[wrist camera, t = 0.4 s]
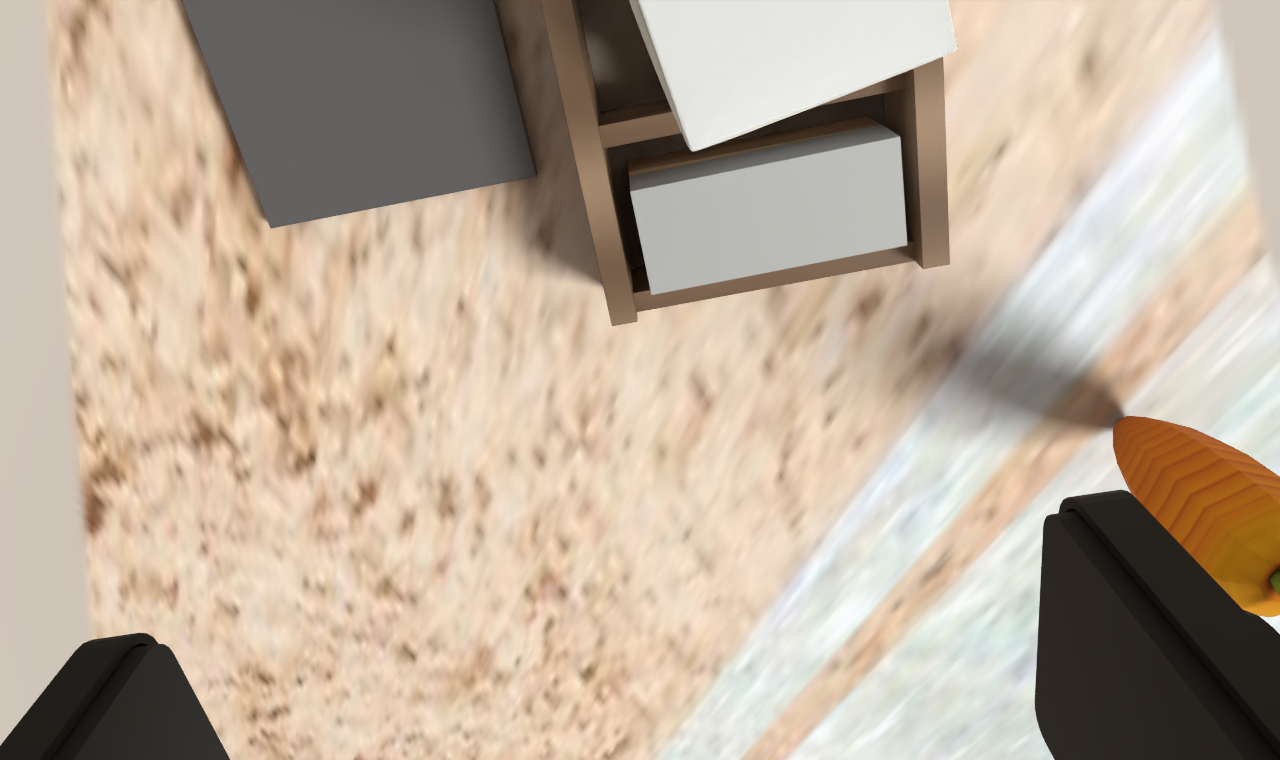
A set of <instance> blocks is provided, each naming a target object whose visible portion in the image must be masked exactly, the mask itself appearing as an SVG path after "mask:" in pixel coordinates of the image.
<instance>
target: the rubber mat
mask: <svg viewBox="0 0 1280 760" xmlns="http://www.w3.org/2000/svg"><path fill="white" fill-rule="evenodd" d="M182 2H183V5H184V7H185V10H186V12H187V15H188V17H189V20H190V23H191V25H192V28H193V30H194V33H195V35H196V38H197V41H198V43H199V46H200V48H201V51H202V53H203V56H204V58H205V61H206V64H207V66H208V69H209V71H210V74H211V76H212V79H213V82H214V84H215V87H216V89H217V92H218V94H219V97H220V100H221V102H222V105H223V107H224V110H225V112H226V115H227V118H228V120H229V123H230V125H231V128H232V130H233V133H234V136H235V138H236V141H237V143H238V146H239V148H240V151H241V154H242V156H243V159H244V161H245V164H246V166H247V169H248V172H249V174H250V177H251V179H252V182H253V184H254V187H255V190H256V192H257V195H258V197H259V200H260V202H261V205H262V208H263V210H264V213H265V215H266V218H267V220H268V223H269V226H270V228H275V227H280V226H286V225H291V224H296V223H301V222H306V221H311V220H316V219H321V218H326V217H331V216H336V215H342V214H347V213H352V212H357V211H362V210H367V209H372V208H377V207H382V206H387V205H392V204H398V203H403V202H408V201H413V200H418V199H423V198H428V197H433V196H438V195H443V194H449V193H454V192H459V191H464V190H469V189H474V188H479V187H484V186H489V185H494V184H499V183H505V182H510V181H515V180H520V179H525V178H530V177H535V176H536V174H537V171H536V167H535V163H534V159H533V155H532V151H531V146H530V142H529V138H528V134H527V130H526V126H525V122H524V118H523V113H522V109H521V105H520V101H519V97H518V93H517V89H516V85H515V80H514V76H513V72H512V68H511V64H510V60H509V56H508V51H507V47H506V43H505V39H504V35H503V31H502V27H501V23H500V18H499V14H498V10H497V6H496V2H495V0H182Z"/></svg>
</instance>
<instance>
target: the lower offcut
mask: <svg viewBox="0 0 1280 760" xmlns="http://www.w3.org/2000/svg"><path fill="white" fill-rule="evenodd" d="M877 125H881V124H879V123H878V122H876V121H875V120H873V119H872V118H870V117H868V116H864V117H859V118H853V119H848V120H843V121H837V122H832V123H827V124H821V125H816V126H811V127H806V128H800V129H795V130H790V131H784V132H779V133H774V134H769V135H763V136H758V137H753V138H747V139H742V140H737V141H732V142H726V143H721V144H716V145H712V146H709V147H707V148H703V149H700V150H697V151H691V150H690V149H689V150H684V151H679V152H673V153H668V154H663V155H657V156H652V157H647V158H642V159H636V160H631V161H628V169H629V177H630V176H633V175H638V174H643V173H648V172H652V171H657V170H662V169H667V168H672V167H677V166H682V165H687V164H691V163H696V162H701V161H706V160H711V159H716V158H721V157H726V156H730V155H735V154H740V153H745V152H750V151H755V150H760V149H765V148H769V147H774V146H779V145H784V144H789V143H794V142H799V141H804V140H808V139H813V138H818V137H823V136H828V135H833V134H838V133H842V132H847V131H852V130H857V129H862V128H867V127H872V126H877Z"/></svg>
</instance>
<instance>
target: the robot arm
mask: <svg viewBox="0 0 1280 760" xmlns="http://www.w3.org/2000/svg"><path fill="white" fill-rule="evenodd" d="M1035 711H1036V717H1037V721H1038V725H1039V728H1040V731H1041V734H1042V736H1043V738H1044V740H1045V742H1046V744H1047V746H1048V748H1049V750H1050V752H1051V754H1052V755H1053V757H1054V759H1055V760H1280V634H1279V633H1278V632H1277V631H1276V630H1275V629H1274V628H1273V627H1272V626H1270V625H1269V624H1268V623H1267V622H1266V621H1264V620H1263V619H1262V618H1261V617H1259V616H1258V615H1256V614H1253V613H1251V612H1248V611H1246V610H1243V609H1242V608H1241V607H1240V606H1239V605H1238V604H1237V603H1236V602H1235V601H1234V600H1233V599H1232V598H1231V597H1230V596H1229V595H1228V593H1227V592H1226V591H1225V590H1224V589H1223V588H1222V587H1221V586H1220V585H1219V584H1218V583H1217V582H1216V581H1215V580H1214V579H1213V578H1212V577H1211V576H1210V575H1209V574H1208V573H1207V572H1206V570H1205V569H1204V568H1203V567H1202V566H1201V565H1200V564H1199V563H1198V562H1197V561H1196V560H1195V559H1194V558H1193V557H1192V556H1191V555H1190V554H1189V553H1188V552H1187V551H1186V550H1185V549H1184V548H1183V546H1182V545H1181V544H1180V543H1179V542H1178V541H1177V540H1176V539H1175V538H1174V537H1173V536H1172V535H1171V534H1170V533H1169V532H1168V531H1167V530H1166V529H1165V528H1164V527H1163V526H1162V525H1161V523H1160V522H1159V521H1158V520H1157V519H1156V518H1155V517H1154V516H1153V515H1152V514H1151V513H1150V512H1149V511H1148V510H1147V509H1146V508H1145V507H1144V506H1143V505H1142V504H1141V503H1140V502H1139V501H1138V499H1137V498H1136V497H1135V496H1133V495H1132V494H1131V493H1129V492H1128V491H1125V490H1116V491H1109V492H1102V493H1095V494H1088V495H1082V496H1075V497H1068V498H1066V499H1064V500H1063V501H1062V503H1061V505H1060V509H1059V513H1058V514H1052V515H1048V516H1047V517H1046V519H1045V521H1044V527H1043V546H1042V566H1041V587H1040V607H1039V627H1038V648H1037V668H1036V689H1035ZM0 760H230V759H229V757H228V755H227V753H226V751H225V749H224V747H223V745H222V744H221V742H220V740H219V738H218V736H217V734H216V732H215V730H214V729H213V727H212V725H211V723H210V721H209V719H208V717H207V715H206V714H205V712H204V710H203V708H202V706H201V704H200V702H199V700H198V699H197V697H196V695H195V693H194V691H193V689H192V687H191V685H190V684H189V682H188V680H187V678H186V676H185V674H184V672H183V670H182V669H181V667H180V665H179V663H178V661H177V659H176V657H175V655H174V654H173V652H172V651H171V649H170V648H169V647H167V646H166V645H164V644H158V643H157V641H156V640H155V639H154V638H153V637H152V636H150V635H148V634H147V633H136V634H129V635H122V636H115V637H108V638H101V639H94V640H90V641H88V642H86V643H83V644H82V645H81V646H80V647H79V648H78V649H77V650H76V651H75V652H74V653H73V655H72V656H71V657H70V658H69V660H68V661H67V662H66V664H65V665H64V666H63V667H62V669H61V670H60V671H59V672H58V674H57V675H56V676H55V677H54V679H53V680H52V681H51V682H50V684H49V685H48V686H47V687H46V689H45V690H44V691H43V693H42V694H41V695H40V696H39V698H38V699H37V700H36V701H35V703H34V704H33V705H32V706H31V708H30V709H29V710H28V711H27V713H26V714H25V715H24V716H23V718H22V719H21V720H20V722H19V723H18V724H17V725H16V727H15V728H14V729H13V731H12V732H11V733H10V734H9V736H8V737H7V738H6V739H5V741H4V742H3V743H2V745H1V746H0Z"/></svg>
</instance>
